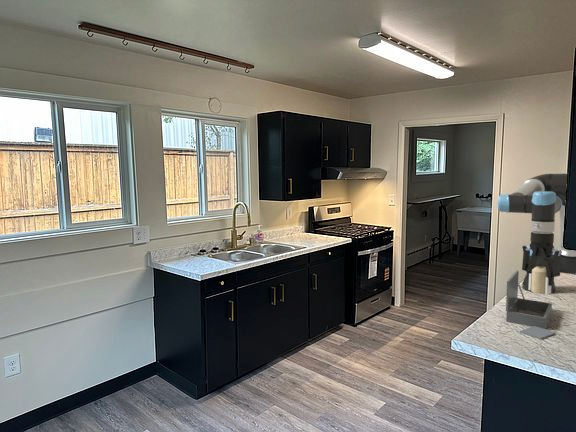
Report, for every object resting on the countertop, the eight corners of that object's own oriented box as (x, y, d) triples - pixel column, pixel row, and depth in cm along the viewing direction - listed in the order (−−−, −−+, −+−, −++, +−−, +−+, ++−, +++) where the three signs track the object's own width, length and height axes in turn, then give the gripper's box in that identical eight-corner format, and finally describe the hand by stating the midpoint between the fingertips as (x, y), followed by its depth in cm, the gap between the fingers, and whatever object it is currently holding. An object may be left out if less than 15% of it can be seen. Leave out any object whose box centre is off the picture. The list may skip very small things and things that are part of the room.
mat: (534, 327, 163) (534, 325, 163) (555, 334, 156) (555, 332, 156) (519, 332, 158) (519, 330, 158) (540, 339, 151) (540, 338, 151)
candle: (536, 294, 152) (537, 268, 151) (528, 290, 158) (529, 265, 157) (551, 293, 152) (552, 268, 151) (542, 289, 158) (543, 264, 157)
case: (515, 306, 188) (516, 269, 186) (551, 312, 178) (553, 274, 177) (504, 321, 170) (506, 281, 168) (545, 329, 161) (547, 286, 159)
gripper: (512, 230, 159) (510, 287, 162) (562, 236, 143) (559, 299, 145) (524, 228, 163) (521, 284, 165) (574, 234, 146) (571, 296, 149)
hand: (539, 291), depth 155 cm, fingers closed on candle, 5 cm apart
